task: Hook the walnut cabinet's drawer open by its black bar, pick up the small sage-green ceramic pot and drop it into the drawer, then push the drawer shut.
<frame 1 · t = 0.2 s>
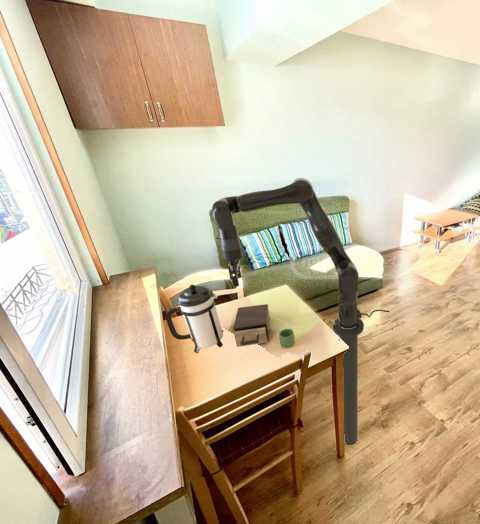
hand: (237, 281, 122), 26 cm above the table, tool pointing down, fingers open, 8 cm apart
drawer: (252, 330, 124), point 5 cm above the table, slide at 1.0 cm
cabinet: (254, 332, 131), on the table
pot: (287, 343, 123), on the table
coffee press: (206, 343, 123), on the table
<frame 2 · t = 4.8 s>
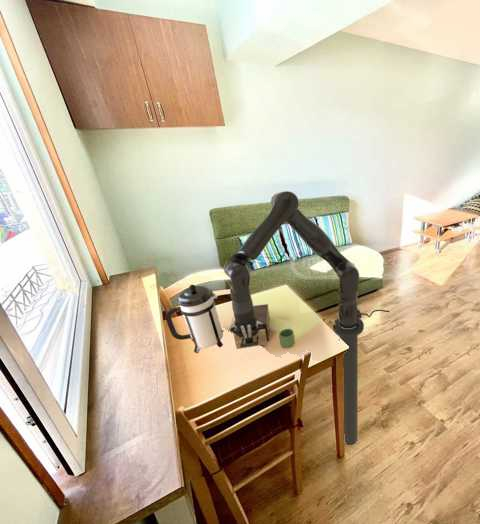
hand: (249, 343, 116), 5 cm above the table, tool pointing down, fingers closed
drawer: (251, 332, 123), point 5 cm above the table, slide at 2.3 cm, touching gripper
everything else where it was.
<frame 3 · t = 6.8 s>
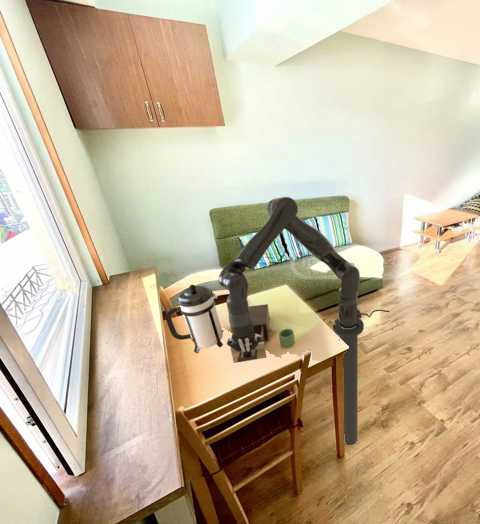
hand: (248, 357, 109), 5 cm above the table, tool pointing down, fingers closed
drawer: (250, 344, 115), point 5 cm above the table, slide at 10.9 cm
everything else where it was.
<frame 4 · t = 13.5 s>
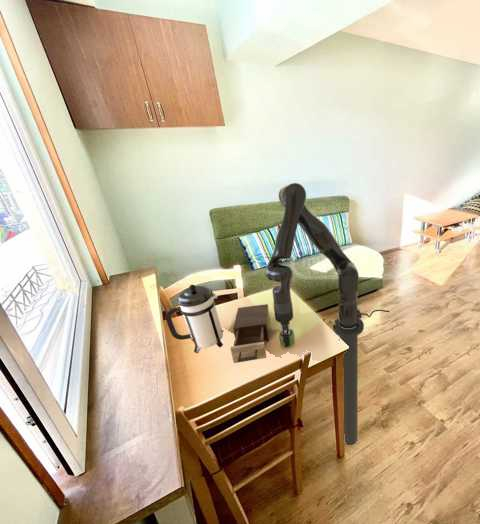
hand: (287, 340, 123), 1 cm above the table, tool pointing down, fingers closed on pot, 6 cm apart
pot: (287, 343, 123), on the table, touching gripper
everything else where it was.
when the fingers open (8 cm above the table, at t = 20.0 s): pot drops 4 cm, resting on drawer.
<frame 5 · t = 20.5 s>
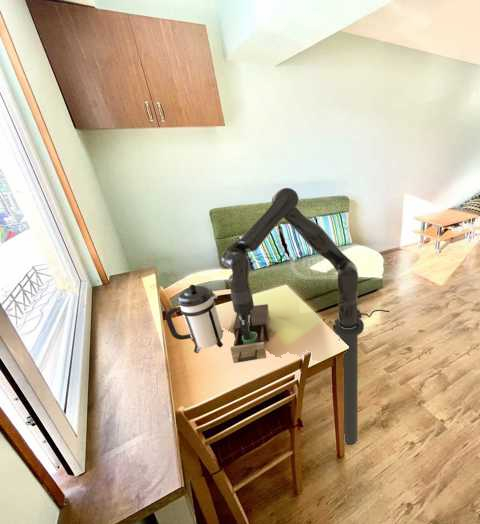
hand: (248, 332, 115), 10 cm above the table, tool pointing down, fingers open, 8 cm apart
drawer: (250, 344, 115), point 5 cm above the table, slide at 11.0 cm, touching pot
pot: (251, 346, 118), point 2 cm above the table, touching drawer
everything else where it was.
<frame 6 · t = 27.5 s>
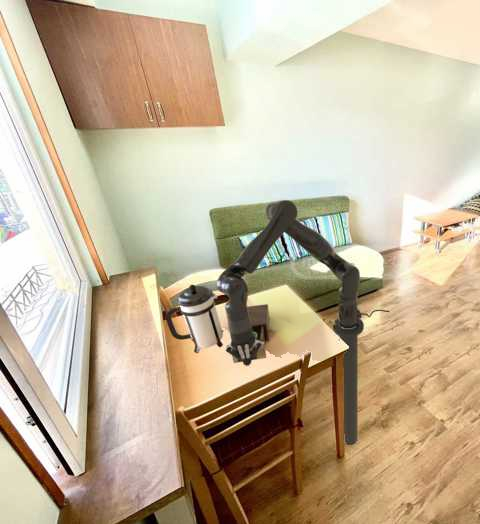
hand: (247, 364, 105), 4 cm above the table, tool pointing down, fingers closed
drawer: (250, 344, 115), point 5 cm above the table, slide at 10.9 cm, touching gripper, pot
everything else where it was.
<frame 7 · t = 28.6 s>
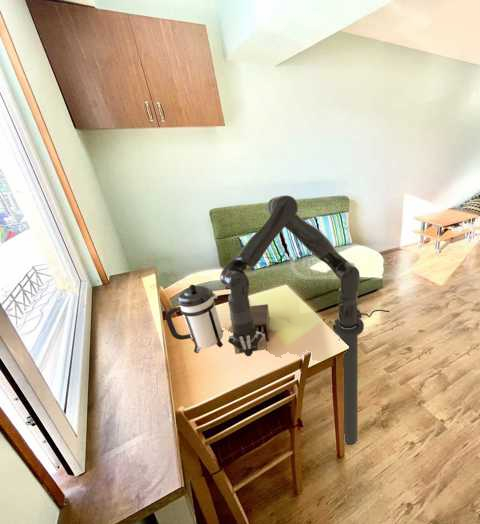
hand: (249, 354, 110), 4 cm above the table, tool pointing down, fingers closed
drawer: (251, 336, 120), point 5 cm above the table, slide at 5.6 cm, touching gripper, pot
pot: (252, 338, 123), point 2 cm above the table, touching drawer
everything else where it was.
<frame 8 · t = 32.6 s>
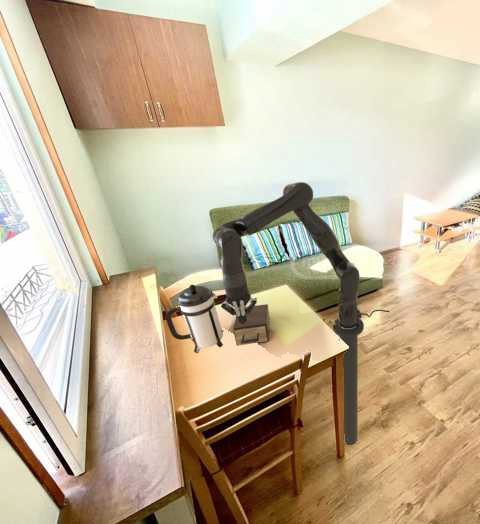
hand: (243, 322, 106), 19 cm above the table, tool pointing down, fingers closed
drawer: (252, 329, 125), point 5 cm above the table, slide at 0.0 cm, touching pot
pot: (253, 331, 128), point 2 cm above the table, touching drawer
everything else where it was.
at the end: pot inside the target area in the cabinet (2.4 cm from its centre), point 2.1 cm above the cabinet's base; drawer slide at 0.0 cm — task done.
